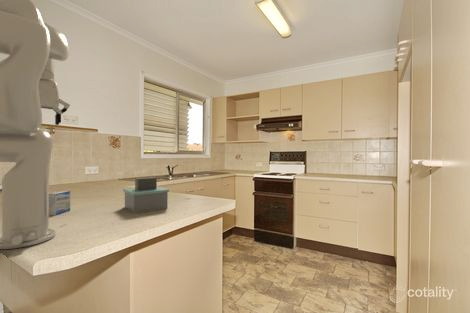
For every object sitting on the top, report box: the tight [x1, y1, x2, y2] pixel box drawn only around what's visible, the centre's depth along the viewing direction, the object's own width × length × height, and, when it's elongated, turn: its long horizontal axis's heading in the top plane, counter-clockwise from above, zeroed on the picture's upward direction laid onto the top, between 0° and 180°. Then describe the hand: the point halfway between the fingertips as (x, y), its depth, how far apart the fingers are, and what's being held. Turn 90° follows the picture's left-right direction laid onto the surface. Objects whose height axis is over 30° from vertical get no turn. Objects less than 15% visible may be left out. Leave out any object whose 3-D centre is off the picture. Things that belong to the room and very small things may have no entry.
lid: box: [122, 176, 170, 196], centre depth 98 cm, size 15×15×7 cm
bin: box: [124, 192, 169, 214], centre depth 98 cm, size 14×14×8 cm
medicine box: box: [49, 190, 71, 216], centre depth 91 cm, size 8×4×9 cm, turn 179°
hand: (40, 123), depth 81 cm, fingers open, 9 cm apart
